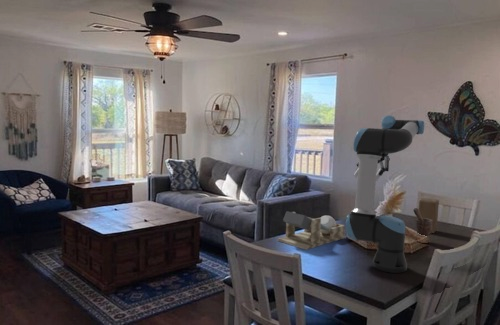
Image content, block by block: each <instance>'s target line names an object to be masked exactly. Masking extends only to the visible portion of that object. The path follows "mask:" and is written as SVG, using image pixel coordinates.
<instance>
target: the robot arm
mask: <svg viewBox="0 0 500 325" xmlns="http://www.w3.org/2000/svg"><path fill="white" fill-rule="evenodd" d="M380 123H381V128H372V127H371V128H370V127H369V128H365V127H364V128H360V129H358V130H357V132H356V133H355V137H354V140H353V151H354V152H356V157H357V158H358V162H357V163H356V164H355V166H356V167H357V168H355V172H354V174H353V176H354V177H355V178H356V179H357V181H356V191H355V203H354V208H353V209H352V210H351V211H350V213H349V214H347V215H346V220H345V233H346V235H347V237H348V238H349V239H351V240H354V241H355V240H356V241H362V242H366V243H373V244H377V249H376V253H375V254H374V257H373V260H372V266H373V268H374V269H376V270H379V271H382V272H385V273H392V274H398V273H399V274H401V273H405V272H406V271H408V263H407V259H406V257H405V252H404V251H405V241H406V238H405V237H406V232H407V231H406V223H405V221H404V220H403V219H400V218H398V217H394V216H392V215H380V216H379V217H378V218H377V213H376V212H375V210H374V204H375V194H376V184H377V182H378V180H379V179H380V177H381V176H383V174H384V173H385V172H389V169H390V167H389V166H390V165H389V164H390V159H391V158H390V156H389V154H394V153H399V152H401V151H403V150H404V151H405V150H406V149H407V148H409V146H410V145H411V144H412V143H413V138H414V137H415V136H416V135H423V134H424V131H425V121H424V120H418V119H415V120H414V119H411V120H410V119H396V118H395V117H394V116H392V115H386V116H384V117H383V118H382V119H381V121H380ZM383 161H384V163H383ZM378 164H379V166H380V168H379V169H378Z"/></svg>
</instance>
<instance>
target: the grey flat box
mask: <svg viewBox="0 0 500 325" xmlns="http://www.w3.org/2000/svg"><path fill="white" fill-rule="evenodd" d="M292 212H293V211H288V210H287V211H286V212H285V214H284V215H283V216H284V217H283V219H282V221H283V222H284V223H285V224H286V223H288V224H289V225H292V226H295V228H300V229H304V230H305V229H307V230H309V227H310V226H311V224H312V219H315V218H314V217H309V216H306V215H304V214H300V213H292ZM320 229H323V230H327V231H329V229H328V228H326V227H325V226H324V225H322V224H321V227H320Z"/></svg>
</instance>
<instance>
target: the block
mask: <svg viewBox="0 0 500 325" xmlns="http://www.w3.org/2000/svg"><path fill="white" fill-rule="evenodd" d="M439 203H440V200H438V199H433V198H421V199H419V201H418V208H417V209H418V210H419V211H420V214H421V217H422V218H427V219H431V220H433V221H432V230H431V233H430V234H432V233H433V234H434V233H436V231H437V230H438V221H439V220H438V218H439V207H440V206H439V205H440V204H439Z"/></svg>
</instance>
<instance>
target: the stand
mask: <svg viewBox="0 0 500 325" xmlns="http://www.w3.org/2000/svg"><path fill="white" fill-rule="evenodd" d="M291 212H292V213H296V211H291ZM296 214H297V213H296ZM320 227H321V217H316V218H314V219H312V224H311V226H310V227H309V230H307V229H304V231H301V232H298V233H296V227H295V226H292V225H289V224H288V223H286V222H285V236H282V237H281V236H280V237H278V238H277V241H278V242H281V243H282V244H283V243H284V244H285V245H286V244H287V245H290V246H293V247H295V248H298V249H302V250H305V251H307V250H311V249H313V248H317V247H319V246H324V245H325V244H330V243H333V242H336V241H339V240H343V239H345V236H346V224H341V223H337V227H333V228H331V230H330V235H324V234H322V233H321V232H320Z"/></svg>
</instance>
